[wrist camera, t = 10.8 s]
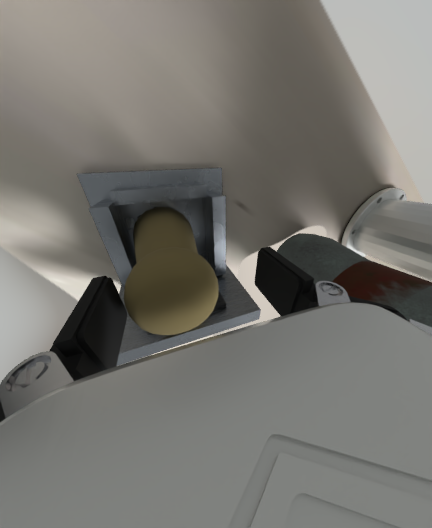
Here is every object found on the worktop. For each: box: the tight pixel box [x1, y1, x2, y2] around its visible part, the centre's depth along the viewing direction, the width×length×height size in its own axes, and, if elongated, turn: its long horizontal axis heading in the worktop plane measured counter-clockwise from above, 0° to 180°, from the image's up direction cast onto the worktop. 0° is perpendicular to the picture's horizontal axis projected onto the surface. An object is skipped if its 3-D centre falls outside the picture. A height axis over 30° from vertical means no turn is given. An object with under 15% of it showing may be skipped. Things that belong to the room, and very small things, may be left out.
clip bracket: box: [77, 168, 260, 366], centre depth 14 cm, size 12×12×10 cm
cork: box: [124, 207, 218, 335], centre depth 12 cm, size 6×6×11 cm
